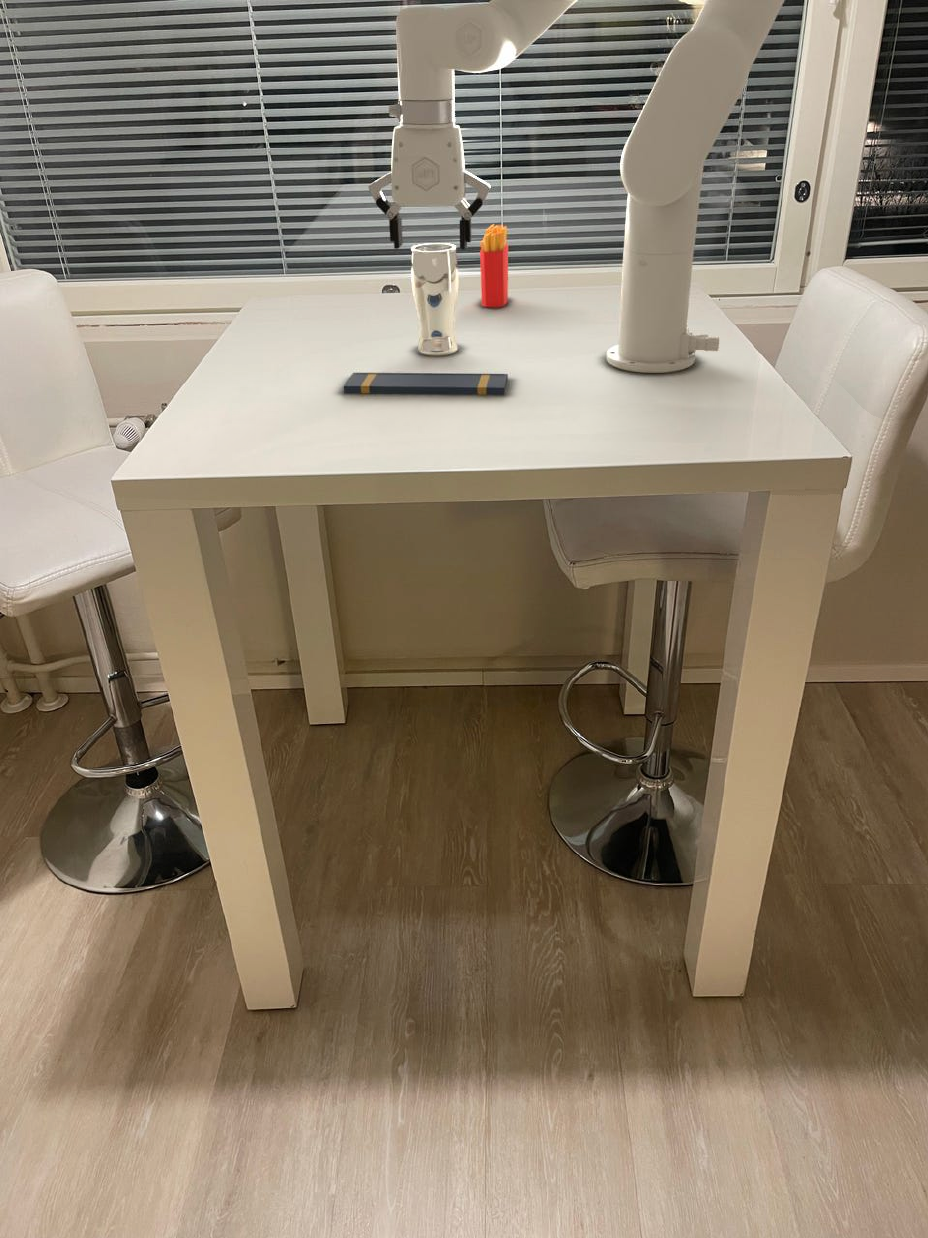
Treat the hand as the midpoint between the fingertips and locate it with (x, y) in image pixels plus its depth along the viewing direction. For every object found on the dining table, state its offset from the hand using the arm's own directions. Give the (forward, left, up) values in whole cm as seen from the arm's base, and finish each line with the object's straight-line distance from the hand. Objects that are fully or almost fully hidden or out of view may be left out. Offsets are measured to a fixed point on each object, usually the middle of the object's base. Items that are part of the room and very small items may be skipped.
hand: (430, 247), depth 138 cm
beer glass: (0, 0, -15) cm, 15 cm away
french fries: (-6, -30, -15) cm, 34 cm away
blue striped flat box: (-1, +18, -15) cm, 23 cm away
